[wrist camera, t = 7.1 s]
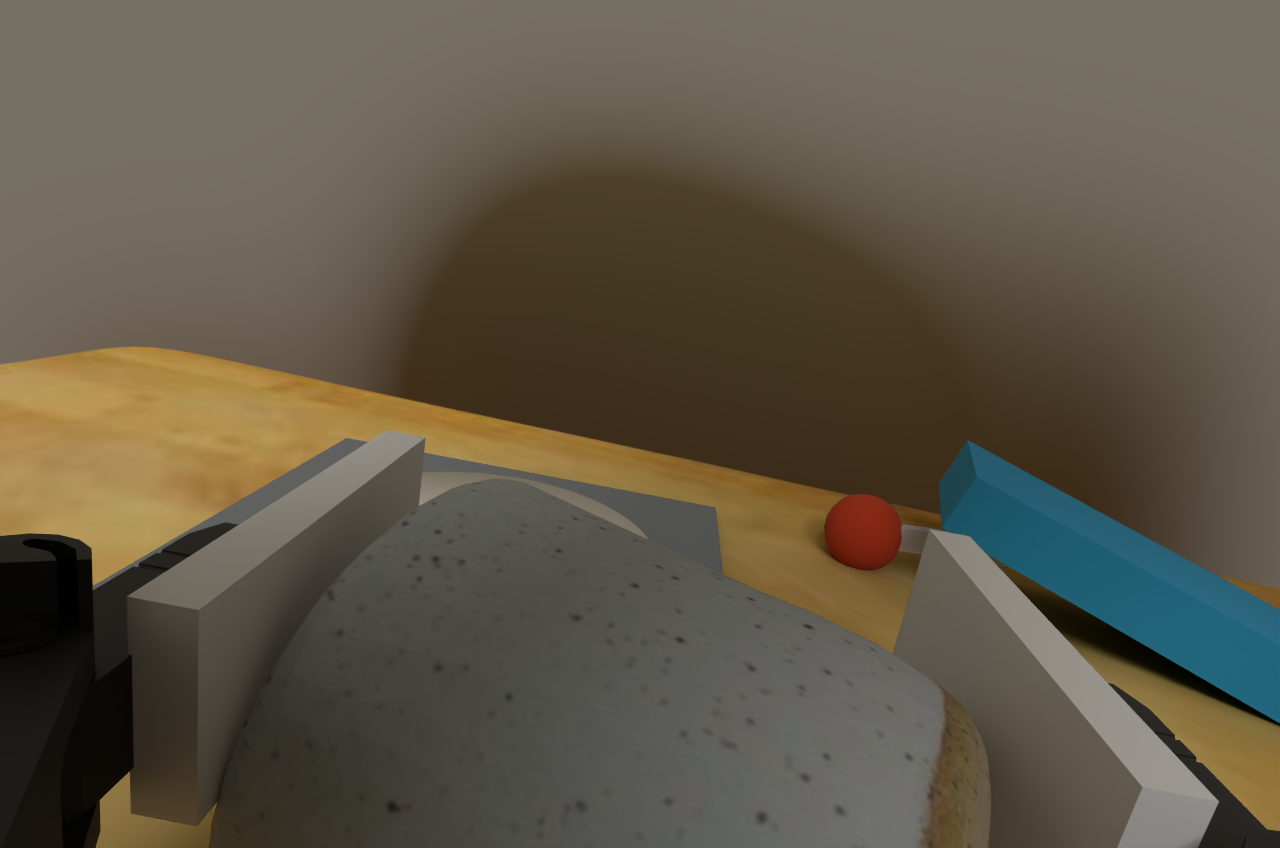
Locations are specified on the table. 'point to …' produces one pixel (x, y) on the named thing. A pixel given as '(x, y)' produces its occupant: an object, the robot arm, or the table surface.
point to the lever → (1084, 570)
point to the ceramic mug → (586, 704)
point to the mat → (639, 513)
